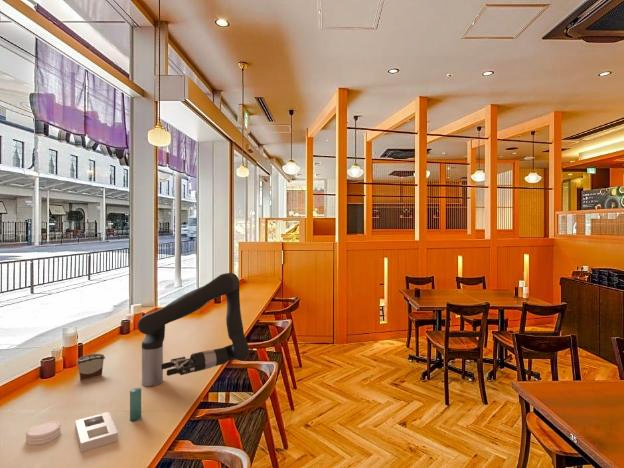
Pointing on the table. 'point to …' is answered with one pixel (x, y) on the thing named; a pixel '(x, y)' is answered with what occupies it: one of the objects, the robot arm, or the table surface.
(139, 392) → the teal cylinder
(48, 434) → the coaster
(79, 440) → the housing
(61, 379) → the table surface
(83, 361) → the food container
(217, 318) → the table surface
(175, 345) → the table surface
